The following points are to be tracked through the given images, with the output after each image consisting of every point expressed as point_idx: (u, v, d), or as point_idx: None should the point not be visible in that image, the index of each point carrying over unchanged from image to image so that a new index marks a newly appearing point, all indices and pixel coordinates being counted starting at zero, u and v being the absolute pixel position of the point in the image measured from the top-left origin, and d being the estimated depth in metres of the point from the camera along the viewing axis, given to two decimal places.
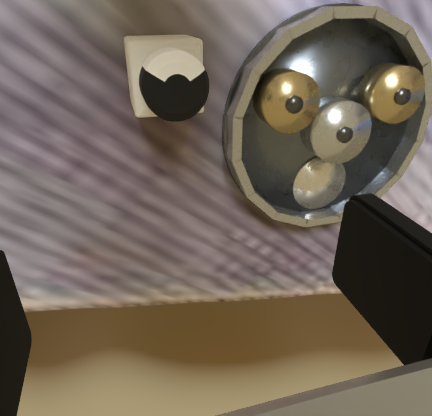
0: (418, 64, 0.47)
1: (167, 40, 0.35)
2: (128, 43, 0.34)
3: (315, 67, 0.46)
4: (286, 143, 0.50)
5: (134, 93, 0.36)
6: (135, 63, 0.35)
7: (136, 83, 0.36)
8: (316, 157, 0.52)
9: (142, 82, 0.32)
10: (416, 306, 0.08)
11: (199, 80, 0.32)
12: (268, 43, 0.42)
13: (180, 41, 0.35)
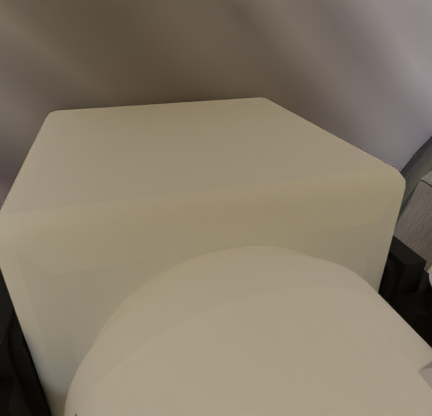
0: None
1: (234, 195, 0.06)
2: None
3: None
4: None
5: None
6: (51, 327, 0.06)
7: (65, 400, 0.07)
8: None
9: None
10: None
11: None
12: None
13: (306, 194, 0.06)
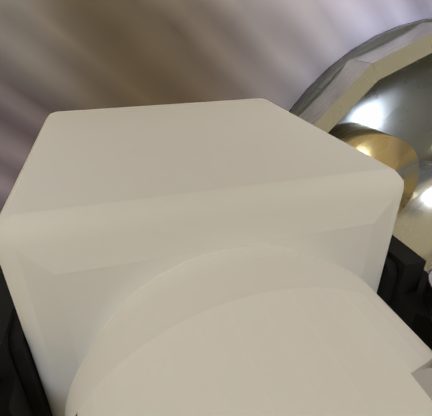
0: None
1: (234, 196, 0.06)
2: None
3: (401, 120, 0.28)
4: None
5: None
6: (53, 327, 0.06)
7: (66, 399, 0.07)
8: None
9: None
10: None
11: None
12: (332, 85, 0.25)
13: (305, 195, 0.06)
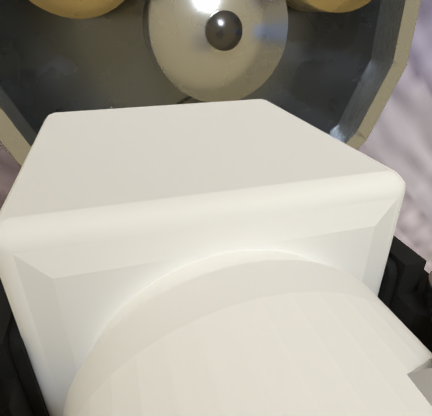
0: None
1: (233, 198, 0.06)
2: None
3: None
4: (116, 63, 0.24)
5: None
6: (49, 332, 0.06)
7: (64, 404, 0.07)
8: (192, 97, 0.26)
9: None
10: None
11: None
12: None
13: (306, 197, 0.06)
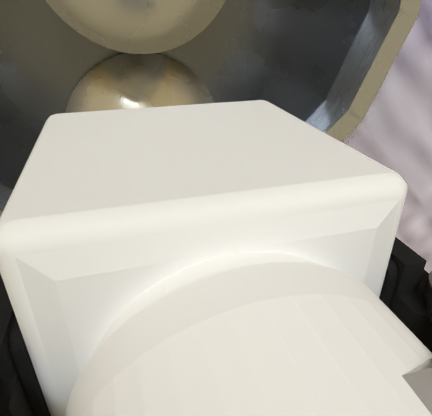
0: None
1: (236, 200, 0.06)
2: None
3: None
4: None
5: None
6: (52, 334, 0.06)
7: (66, 406, 0.07)
8: (116, 55, 0.18)
9: None
10: None
11: None
12: None
13: (308, 199, 0.06)
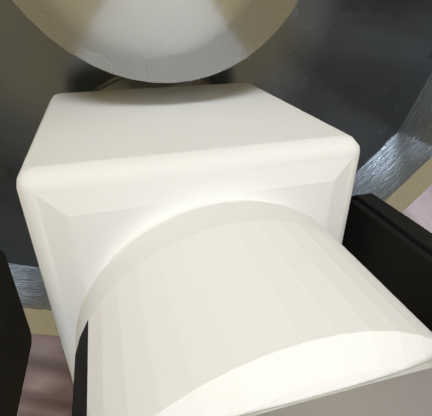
0: None
1: (215, 155, 0.07)
2: (20, 183, 0.07)
3: None
4: None
5: (69, 358, 0.09)
6: (64, 264, 0.07)
7: (74, 331, 0.08)
8: (125, 78, 0.13)
9: None
10: (416, 306, 0.08)
11: None
12: None
13: (275, 155, 0.08)
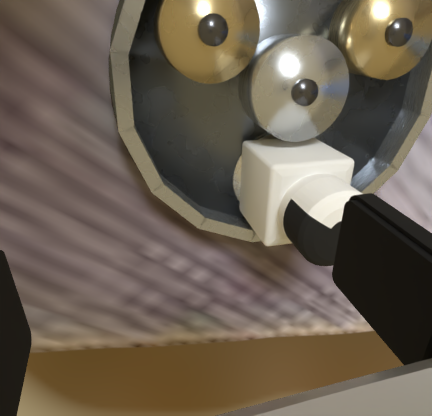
0: None
1: (316, 162, 0.28)
2: (271, 168, 0.28)
3: None
4: (216, 109, 0.32)
5: (268, 221, 0.29)
6: (277, 189, 0.28)
7: (273, 211, 0.29)
8: (267, 135, 0.34)
9: (301, 227, 0.25)
10: (416, 306, 0.08)
11: None
12: None
13: (331, 163, 0.28)
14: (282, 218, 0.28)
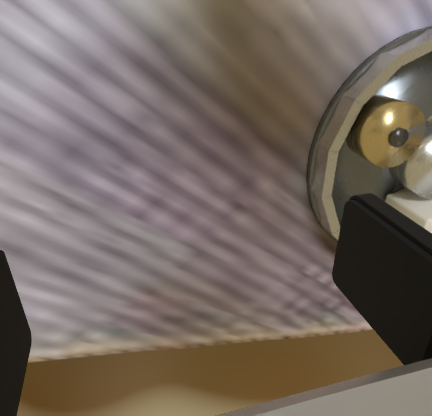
0: None
1: None
2: (426, 221, 0.42)
3: (413, 94, 0.42)
4: (373, 175, 0.46)
5: None
6: None
7: None
8: (402, 189, 0.48)
9: None
10: (416, 306, 0.08)
11: None
12: (370, 70, 0.38)
13: None
14: None
